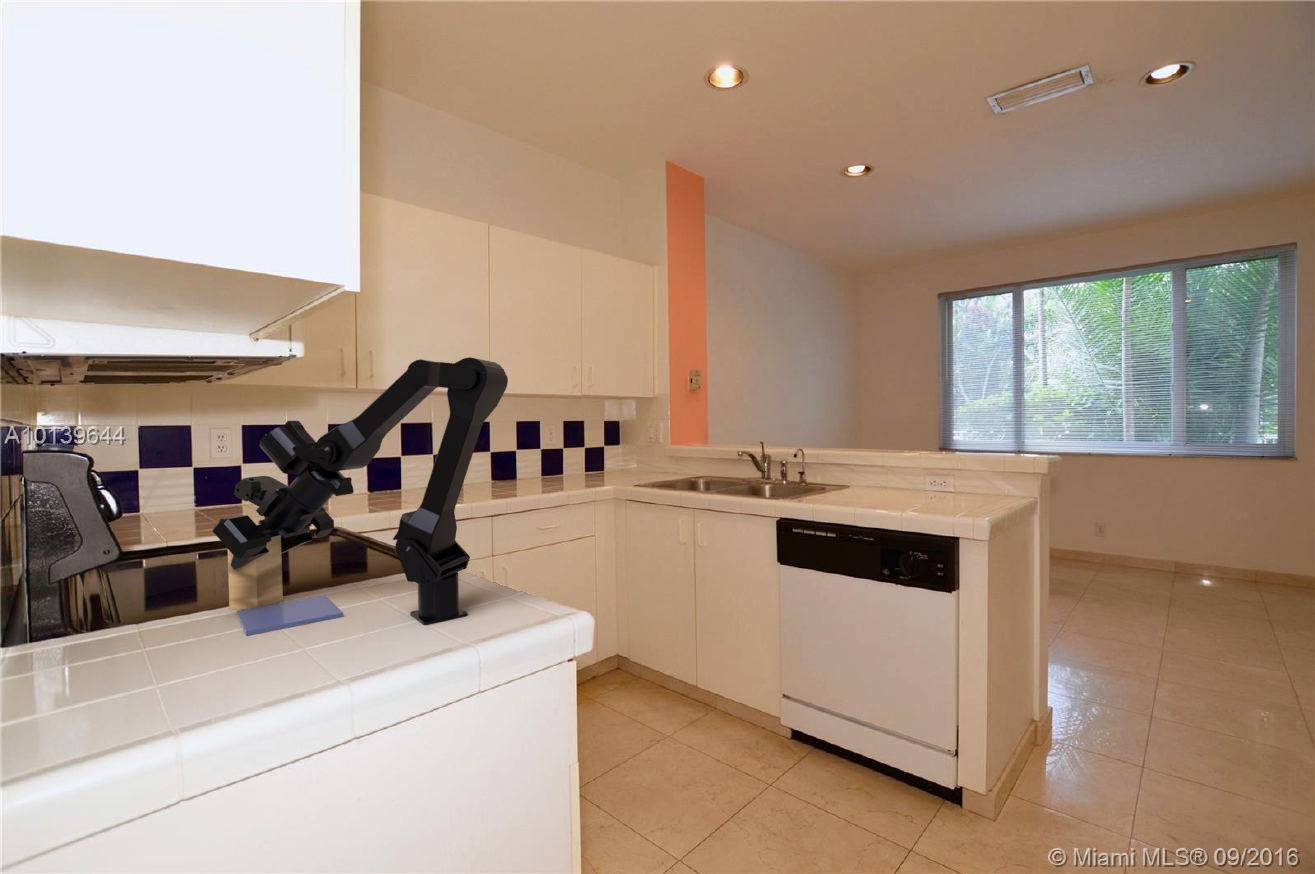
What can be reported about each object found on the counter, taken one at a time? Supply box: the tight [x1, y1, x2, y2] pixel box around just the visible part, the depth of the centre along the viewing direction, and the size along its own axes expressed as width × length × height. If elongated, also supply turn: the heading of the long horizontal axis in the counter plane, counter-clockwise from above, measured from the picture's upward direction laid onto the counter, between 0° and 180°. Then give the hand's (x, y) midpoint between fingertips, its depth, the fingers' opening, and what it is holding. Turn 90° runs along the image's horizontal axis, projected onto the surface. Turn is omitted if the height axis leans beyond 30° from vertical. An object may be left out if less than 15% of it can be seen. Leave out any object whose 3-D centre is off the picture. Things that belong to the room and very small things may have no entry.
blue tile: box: [236, 594, 344, 636], centre depth 90 cm, size 12×12×1 cm
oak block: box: [227, 536, 284, 610], centre depth 96 cm, size 5×5×12 cm
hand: (247, 563), depth 96 cm, fingers closed on oak block, 5 cm apart
